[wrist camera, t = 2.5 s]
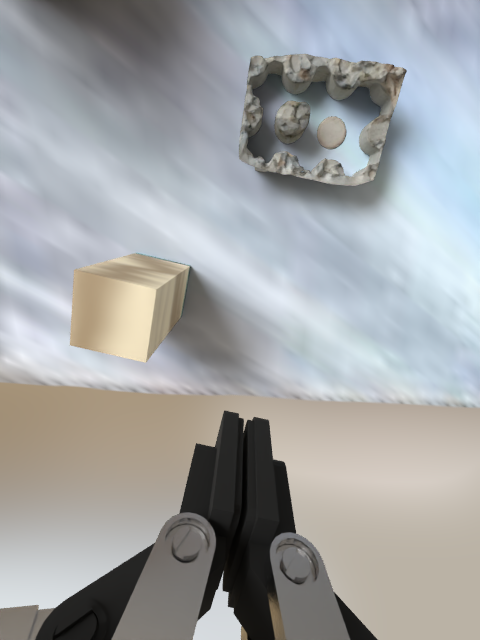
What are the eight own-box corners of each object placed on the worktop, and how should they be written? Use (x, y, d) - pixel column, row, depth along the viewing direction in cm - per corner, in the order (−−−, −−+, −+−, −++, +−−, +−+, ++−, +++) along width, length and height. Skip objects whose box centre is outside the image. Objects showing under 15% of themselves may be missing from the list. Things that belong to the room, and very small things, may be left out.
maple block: (190, 265, 28) (156, 289, 18) (181, 316, 29) (145, 362, 20) (136, 252, 27) (74, 269, 18) (130, 304, 29) (69, 345, 20)
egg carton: (390, 91, 23) (418, 65, 19) (359, 195, 25) (378, 191, 22) (252, 61, 23) (253, 29, 19) (234, 169, 25) (231, 160, 21)
